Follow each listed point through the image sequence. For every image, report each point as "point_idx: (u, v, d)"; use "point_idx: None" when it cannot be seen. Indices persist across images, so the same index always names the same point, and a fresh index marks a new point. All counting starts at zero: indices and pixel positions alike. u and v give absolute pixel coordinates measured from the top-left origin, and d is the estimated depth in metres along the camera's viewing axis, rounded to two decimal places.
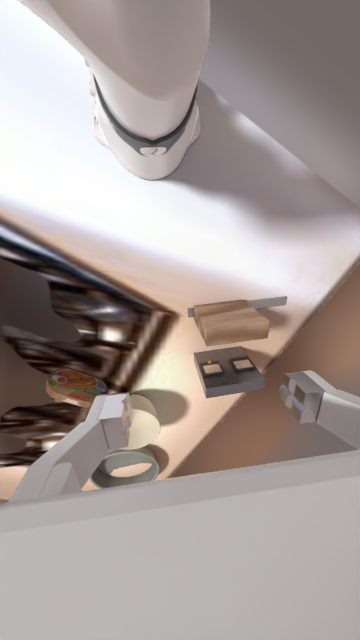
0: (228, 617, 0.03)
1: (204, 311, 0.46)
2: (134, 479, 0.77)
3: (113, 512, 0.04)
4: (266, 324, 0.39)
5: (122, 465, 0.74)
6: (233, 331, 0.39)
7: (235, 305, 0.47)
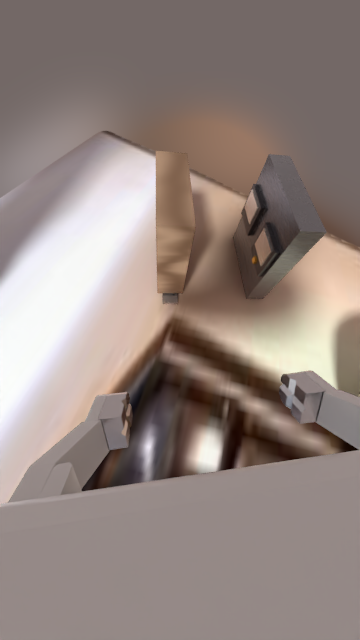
0: (228, 617, 0.03)
1: None
2: None
3: (113, 511, 0.04)
4: (161, 154, 0.24)
5: None
6: (167, 190, 0.22)
7: None
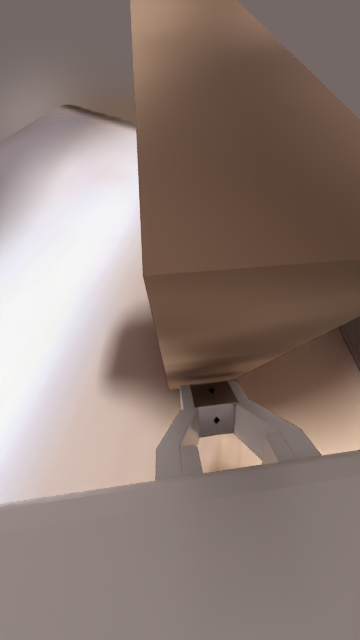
0: (228, 617, 0.03)
1: None
2: None
3: (113, 512, 0.04)
4: None
5: None
6: (193, 71, 0.04)
7: None
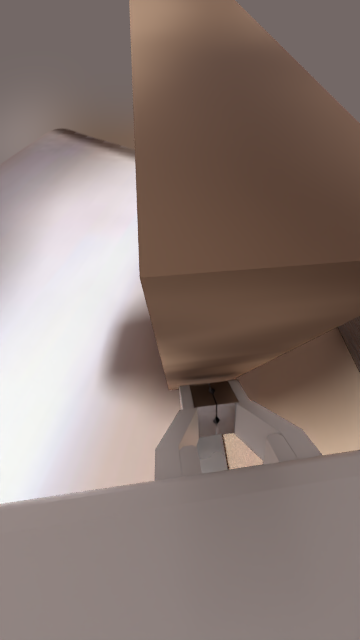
0: (228, 617, 0.03)
1: None
2: None
3: (113, 512, 0.04)
4: None
5: None
6: (191, 72, 0.04)
7: None
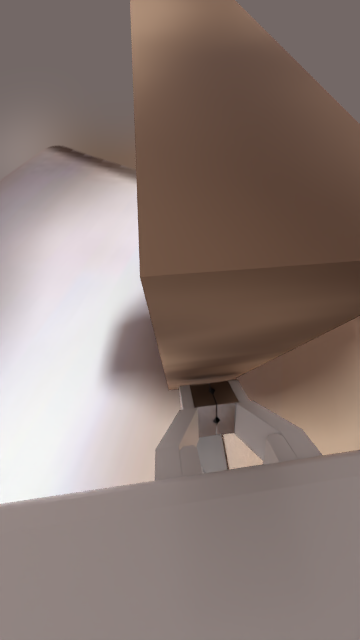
0: (228, 617, 0.03)
1: None
2: None
3: (113, 512, 0.04)
4: (150, 0, 0.07)
5: None
6: (192, 72, 0.04)
7: None
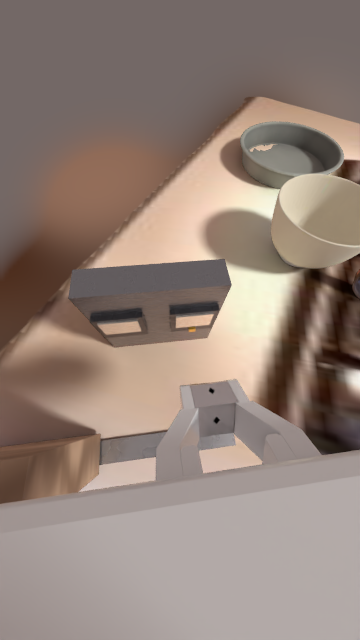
0: (228, 617, 0.03)
1: None
2: (268, 138, 0.54)
3: (113, 512, 0.04)
4: None
5: (287, 160, 0.52)
6: None
7: None
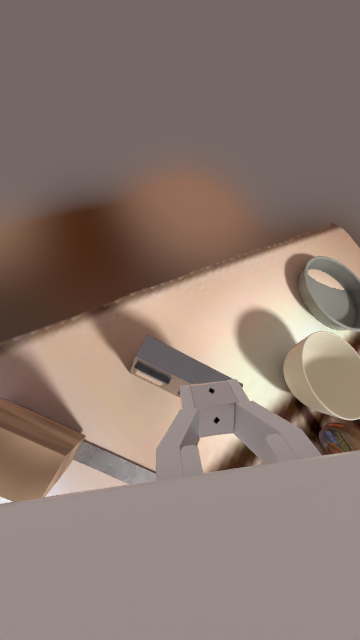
0: (228, 617, 0.03)
1: None
2: (328, 269, 0.63)
3: (114, 512, 0.04)
4: None
5: (332, 295, 0.61)
6: None
7: None
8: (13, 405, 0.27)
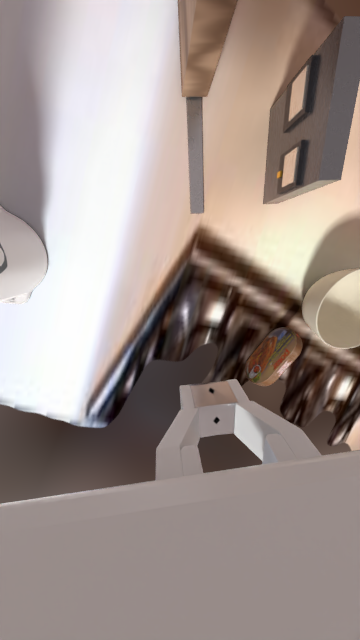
0: (228, 618, 0.03)
1: (184, 55, 0.26)
2: None
3: (113, 511, 0.04)
4: None
5: None
6: None
7: None
8: None
